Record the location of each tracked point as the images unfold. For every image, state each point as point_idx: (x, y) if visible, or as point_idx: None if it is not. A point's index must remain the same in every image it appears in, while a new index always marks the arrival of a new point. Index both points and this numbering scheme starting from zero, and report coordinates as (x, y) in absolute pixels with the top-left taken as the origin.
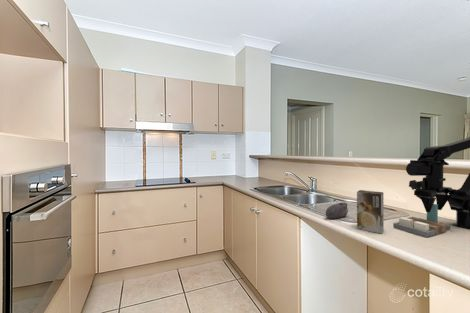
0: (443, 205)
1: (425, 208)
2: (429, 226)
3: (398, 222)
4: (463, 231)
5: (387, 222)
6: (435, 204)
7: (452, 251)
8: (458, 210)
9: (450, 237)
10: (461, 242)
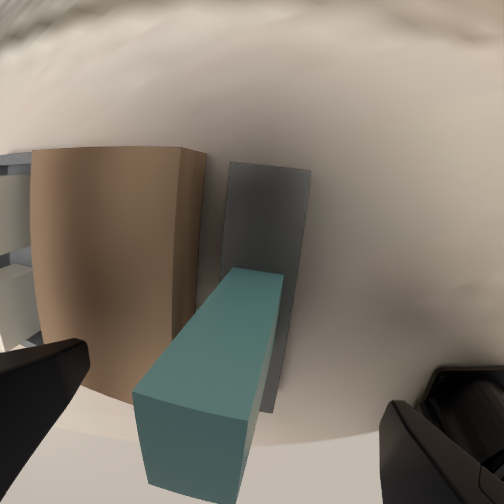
0: (385, 501)
1: (34, 353)
2: (45, 339)
3: (10, 160)
4: (313, 435)
5: (72, 61)
6: (201, 489)
7: None
8: (491, 471)
9: (114, 400)
10: (96, 427)
